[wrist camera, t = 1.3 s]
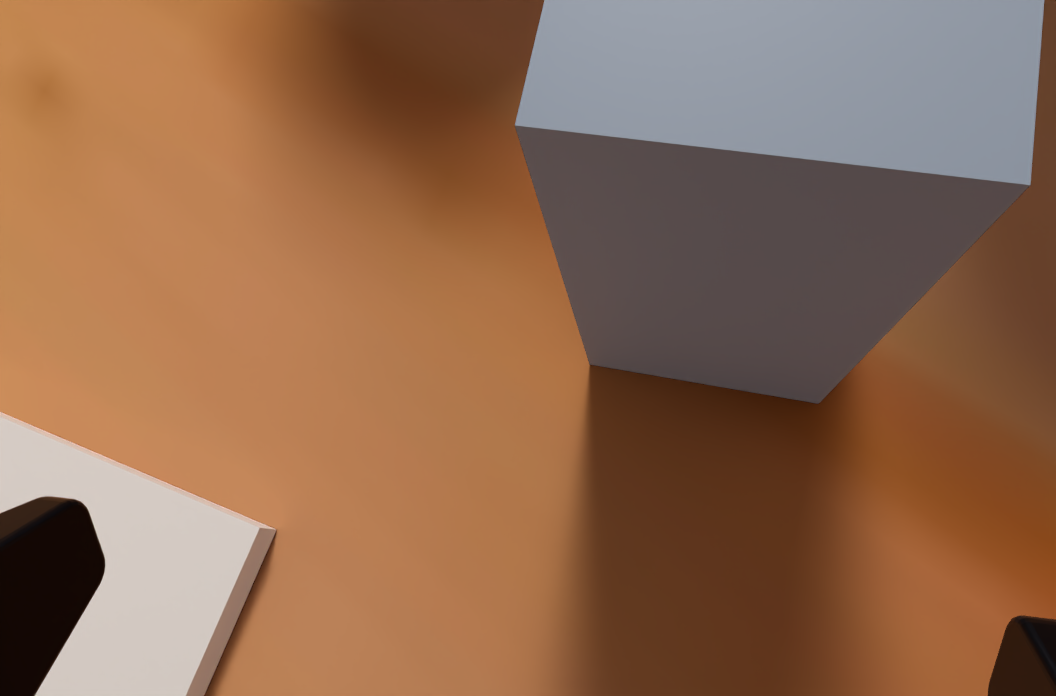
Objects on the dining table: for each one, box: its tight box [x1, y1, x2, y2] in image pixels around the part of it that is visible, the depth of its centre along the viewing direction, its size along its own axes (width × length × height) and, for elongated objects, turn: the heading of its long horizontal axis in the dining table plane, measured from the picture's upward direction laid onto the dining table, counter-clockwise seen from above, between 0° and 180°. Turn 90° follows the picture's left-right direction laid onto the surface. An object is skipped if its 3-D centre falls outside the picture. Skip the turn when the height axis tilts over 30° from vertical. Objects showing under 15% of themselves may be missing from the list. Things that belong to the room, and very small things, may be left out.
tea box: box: [515, 0, 1044, 404], centre depth 16 cm, size 5×6×12 cm
